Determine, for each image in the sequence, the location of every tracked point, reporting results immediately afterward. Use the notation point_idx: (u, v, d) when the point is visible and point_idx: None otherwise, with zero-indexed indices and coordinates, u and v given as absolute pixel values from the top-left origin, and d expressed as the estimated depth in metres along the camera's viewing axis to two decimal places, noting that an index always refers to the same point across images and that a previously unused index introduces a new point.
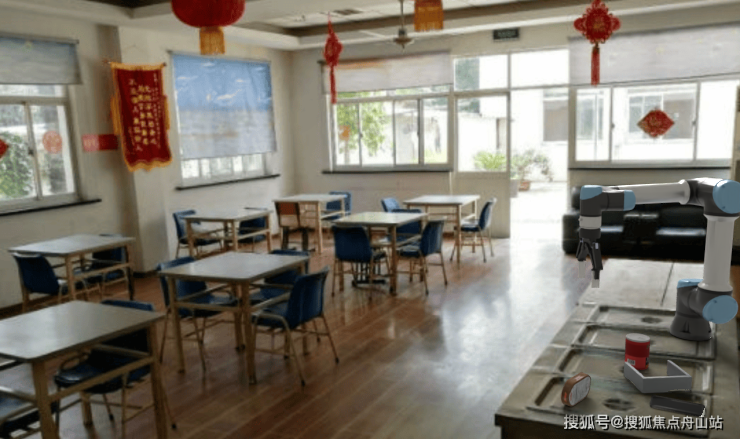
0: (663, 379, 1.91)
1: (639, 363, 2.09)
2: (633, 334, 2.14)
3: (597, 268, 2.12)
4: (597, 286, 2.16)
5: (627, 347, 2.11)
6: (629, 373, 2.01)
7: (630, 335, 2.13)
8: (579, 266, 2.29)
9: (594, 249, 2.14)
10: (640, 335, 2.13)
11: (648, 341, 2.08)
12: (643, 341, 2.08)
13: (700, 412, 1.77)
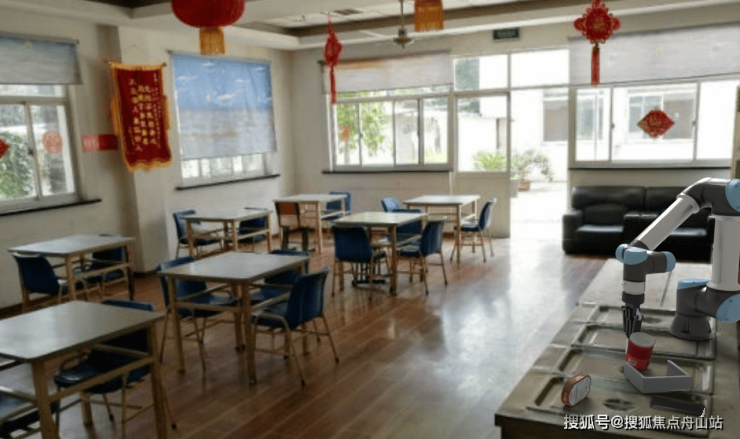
0: (663, 379, 1.91)
1: (640, 364, 2.08)
2: (638, 333, 2.10)
3: None
4: None
5: (630, 348, 2.08)
6: (629, 373, 2.01)
7: (635, 335, 2.10)
8: None
9: (636, 321, 2.09)
10: (645, 335, 2.09)
11: (652, 345, 2.05)
12: (647, 346, 2.04)
13: (700, 412, 1.77)
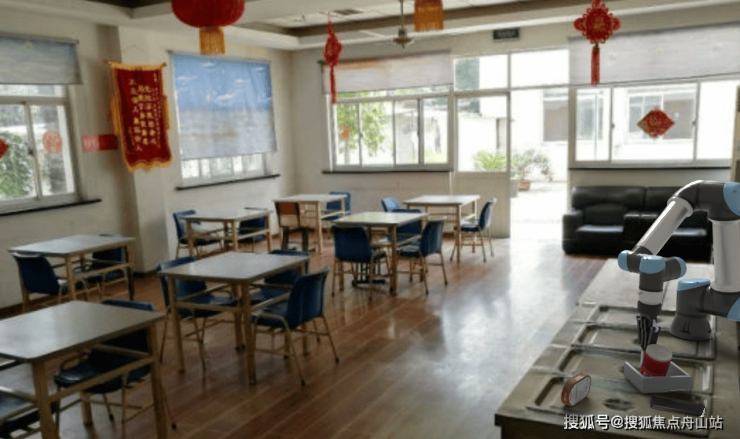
0: (663, 379, 1.91)
1: None
2: (654, 345, 1.98)
3: None
4: None
5: (646, 361, 1.97)
6: (629, 373, 2.01)
7: (651, 347, 1.98)
8: None
9: (652, 332, 1.98)
10: (662, 348, 1.98)
11: (670, 359, 1.93)
12: (665, 360, 1.93)
13: (700, 412, 1.77)
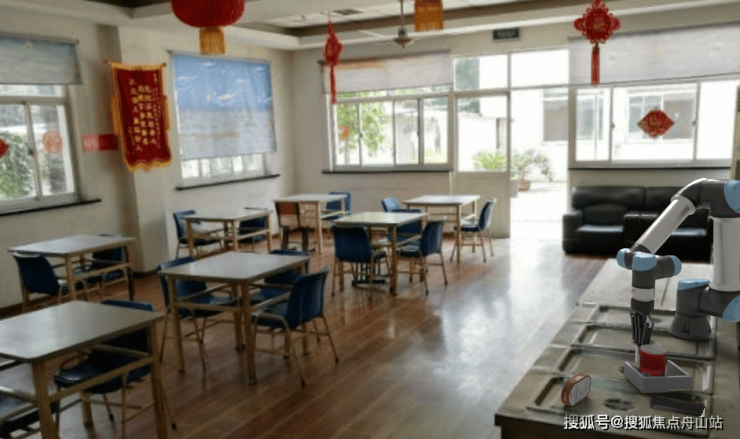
0: (663, 379, 1.91)
1: None
2: (648, 345, 2.03)
3: (643, 344, 2.06)
4: None
5: (642, 359, 2.00)
6: (629, 373, 2.01)
7: (645, 346, 2.02)
8: None
9: (646, 328, 2.03)
10: (656, 346, 2.02)
11: (664, 353, 1.97)
12: (659, 353, 1.97)
13: (700, 412, 1.77)
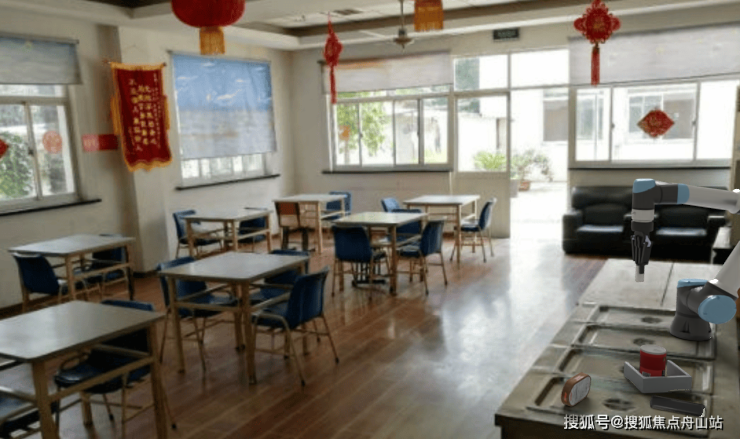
0: (663, 379, 1.91)
1: None
2: (648, 345, 2.03)
3: (643, 263, 2.21)
4: (642, 280, 2.25)
5: (642, 359, 2.00)
6: (629, 373, 2.01)
7: (645, 346, 2.02)
8: None
9: (645, 247, 2.18)
10: (655, 346, 2.02)
11: (664, 353, 1.97)
12: (659, 353, 1.97)
13: (700, 412, 1.77)
